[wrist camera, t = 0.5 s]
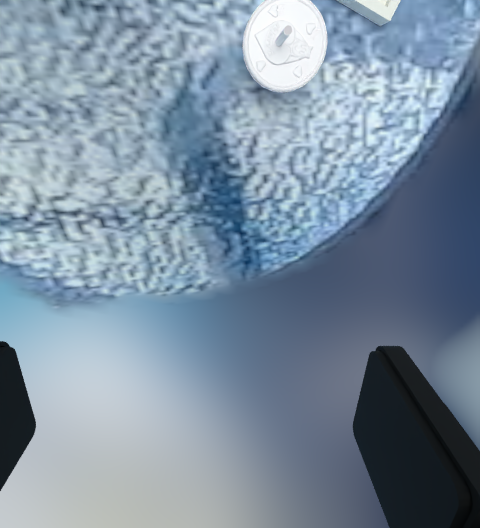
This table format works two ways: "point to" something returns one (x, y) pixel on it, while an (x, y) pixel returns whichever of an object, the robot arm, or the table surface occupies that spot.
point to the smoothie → (284, 44)
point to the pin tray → (373, 9)
